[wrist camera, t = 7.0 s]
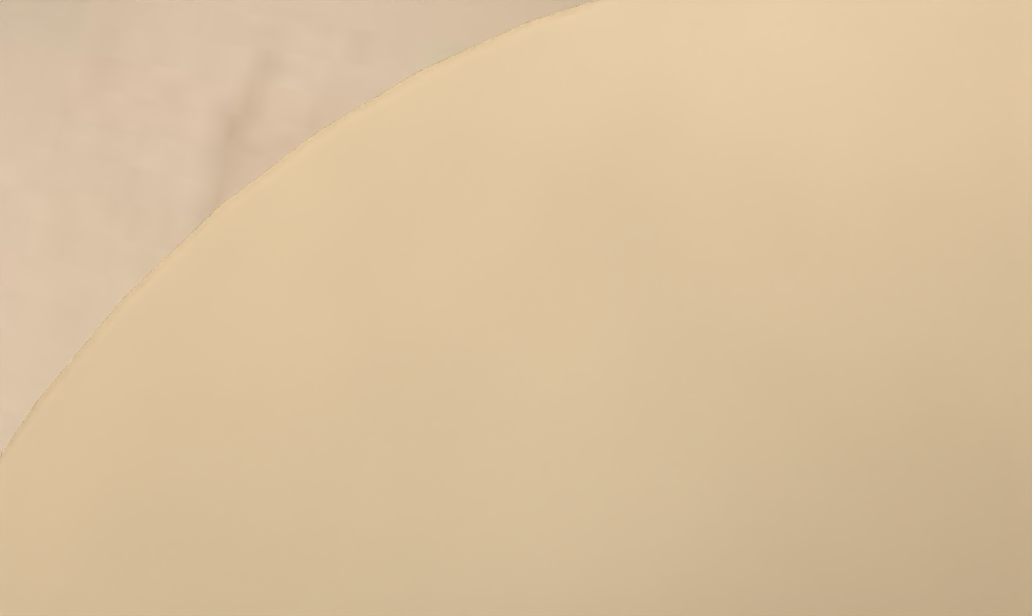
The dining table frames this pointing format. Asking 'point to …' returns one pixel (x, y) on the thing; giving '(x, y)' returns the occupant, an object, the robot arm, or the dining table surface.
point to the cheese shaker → (582, 341)
